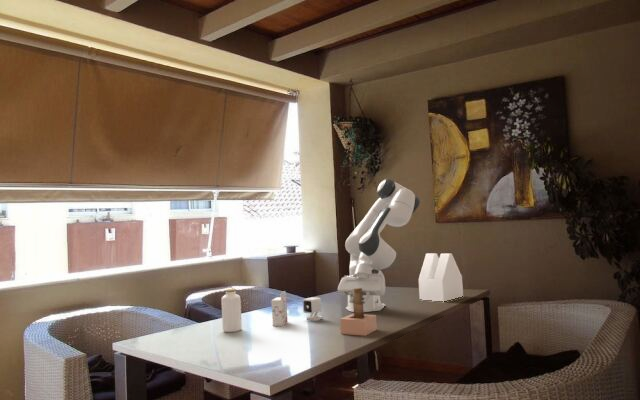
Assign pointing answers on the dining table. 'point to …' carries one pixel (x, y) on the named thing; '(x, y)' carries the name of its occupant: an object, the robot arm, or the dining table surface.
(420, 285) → the white notched block
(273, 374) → the dining table surface
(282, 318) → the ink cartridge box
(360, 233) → the robot arm
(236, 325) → the potion bottle
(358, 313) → the dowel
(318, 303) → the security camera
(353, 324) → the socket block
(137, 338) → the dining table surface
